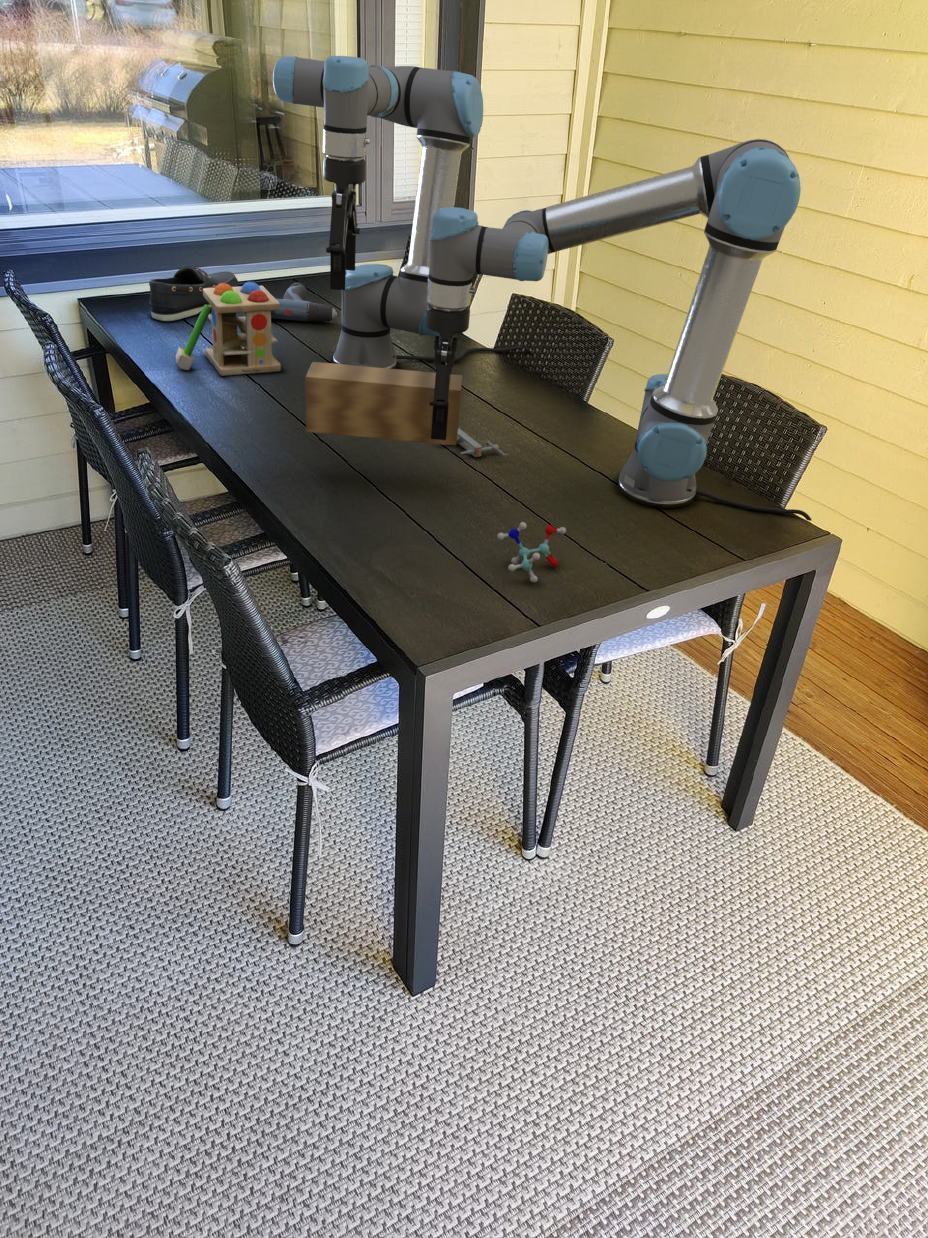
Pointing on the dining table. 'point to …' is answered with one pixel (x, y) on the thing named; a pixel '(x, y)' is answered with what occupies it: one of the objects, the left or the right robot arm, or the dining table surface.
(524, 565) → the molecular model
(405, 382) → the box
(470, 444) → the clamp
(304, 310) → the power drill
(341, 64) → the left robot arm
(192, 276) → the boat shoe
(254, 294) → the pounding bench toy
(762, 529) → the dining table surface
